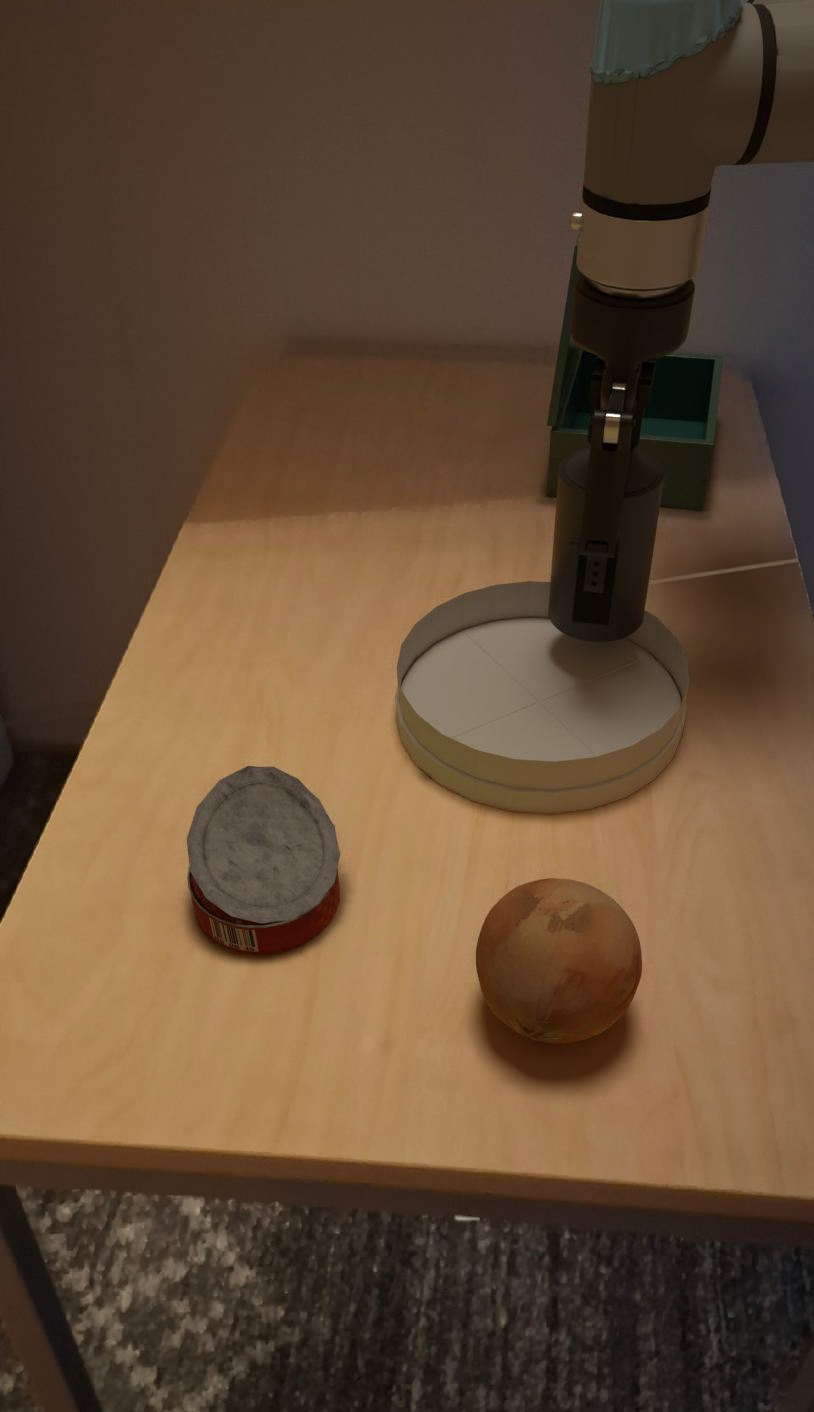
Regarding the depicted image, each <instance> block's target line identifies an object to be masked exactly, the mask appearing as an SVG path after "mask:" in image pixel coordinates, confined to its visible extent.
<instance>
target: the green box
mask: <svg viewBox="0 0 814 1412" xmlns="http://www.w3.org/2000/svg"><path fill="white" fill-rule="evenodd" d="M596 357H599V356H598V355H596V354H594V353H589V352H587V351H585V350H584V349H582V348H581V347H580V346H579V349H578V352H577V355H576V359H575V362H574V365H573V369H572V372H571V376H570V379H569V382H568V386H567V389H566V392H565V396H564V399H563V403H562V406H561V409H560V413H559V416H558V420H557V423H556V426H555V427H554V426H551V429H550V435H549V436H550V437H549V451H548V467H547V479H546V481H547V483H546V494H545V496H546V497H547V498H554V499H555V498H556V499H557V487H558V473H559V466H560V464H561V462H562V461H563V460H564V459H565V458H566V457H567V456H568V455H570V454H571V453H573V452H575V451H578V450H581V449H584V448H588V447H591V444H589V442H588V438H587V437H588V429H589V421H590V414H591V402H590V400H589V391H590V383H591V377H592V373H593V374H594V370H595V362H596ZM646 361H656V362H655V370H654V377H653V383H652V387H651V393H650V399H649V402H648V404H647V406H646V409H645V414H644V416H643V421H642V427H641V434H640V441H639V443H638V445H637V447H636V449H637V450H640V451H643V452H645V453H647V454H649V455H651V456H652V457H654V458H655V459H657V460H658V461H659V462H660V463H661V465H662V467H663V469H664V473H665V476H664V483H663V490H662V497H661V503H660V508H664V509H673V510H674V509H675V510H685V511H694V512H695V511H697V512H703V508H704V503H705V497H706V492H707V485H708V481H709V475H710V468H711V464H712V458H713V454H714V453H713V452H714V447H715V439H716V430H717V419H718V411H719V402H720V393H721V392H720V391H721V383H722V374H723V365H724V355H711V354H695V353H685V352H683V353H681V352H673V353H671V354H669V355H666V356H663V357H660V358H652V359H648V360H646Z"/></svg>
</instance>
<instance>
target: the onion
mask: <svg viewBox="0 0 814 1412" xmlns="http://www.w3.org/2000/svg"><path fill="white" fill-rule="evenodd" d="M475 947H476V948H475V968H476V974H477V978H478V982H479V986H480V990H481V994H482V997H483V999H484V1001H485V1003H486V1005H487V1006H488V1008H489V1009H490V1011H491V1012H492V1013H493V1015H494V1016H495V1017H496V1018H497V1019H498V1020H499V1021H501V1022H502V1023H503V1024H504V1025H506V1026H507V1027H508V1028H510V1029H511V1030H513V1031H514V1032H516V1033H518V1034H520V1035H521V1036H523V1037H525V1038H526V1039H529V1040H531V1041H536V1042H539V1041H540V1042H544V1043H547V1044H568V1043H576V1042H580V1041H584V1040H587V1039H590V1038H592V1037H596V1036H598V1035H600V1034H601V1033H603V1032H605V1031H606V1030H607V1029H609V1028H610V1027H612V1026H613V1025H614V1024H615V1023H616V1022H617V1021H618V1020H619V1019H621V1017H622V1016H623V1015H624V1014H625V1013H626V1011H627V1010H628V1008H629V1006H630V1005H631V1003H632V1001H633V999H634V997H635V995H636V992H637V990H638V987H639V985H640V981H641V980H642V979H641V978H642V973H643V958H642V957H643V956H642V947H641V940H640V937H639V934H638V932H637V929H636V927H635V925H634V923H633V920H632V919H631V918H630V916H629V915H628V913H627V912H626V911H625V909H623V907H622V906H621V905H620V904H619V903H618V902H617V901H616V900H615V899H614V898H613V897H612V896H610V895H608V894H607V893H605V892H604V891H602V890H601V889H599V888H597V887H595V886H593V885H591V884H589V883H585V882H583V881H578V880H574V879H569V878H557V877H556V878H554V877H550V878H540V879H537V880H532V881H528V882H526V883H523V884H520V885H518V886H515V887H514V888H513V889H511V890H509V891H508V892H507V893H506V894H504V895H503V896H502V897H500V898H499V900H498V901H497V902H496V903H495V904H494V905H493V906H492V907H491V909H490V910H489V911H488V913H487V915H486V917H485V918H484V921H483V923H482V926H481V928H480V931H479V933H478V939H477V942H476V946H475Z"/></svg>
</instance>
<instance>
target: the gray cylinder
mask: <svg viewBox="0 0 814 1412" xmlns="http://www.w3.org/2000/svg"><path fill="white" fill-rule="evenodd" d="M590 449H591V447H588V448H584V449H581V450H578V451H575V452H573V453H571V454H570V455H568V456H567V457H566V458H565V459H564V460H563V461H562V462H561V464H560V466H559V473H558V487H557V498H556V500H555V513H554V530H553V541H552V553H551V566H550V568H551V569H550V581H549V582H550V593H549V607H548V615H549V619H550V621H551V623H552V624H553V625H554V626H555V627H556V628H557V629H558V630H559V631H561V632H562V633H564V634H566V635H568V636H570V637H572V638H575V639H579V640H583V641H589V642H609V641H615V640H619V639H622V638H625V637H627V636H629V635H631V634H633V633H634V632H635V631H636V630H637V629H638V628H639V627H640V626H641V624H642V622H643V618H644V611H645V610H646V604H647V597H648V590H649V584H650V577H651V570H652V563H653V556H654V551H655V550H654V549H655V544H656V536H657V530H658V524H659V517H660V509H661V507H660V503H661V497H662V490H663V483H664V476H665V473H664V469H663V467H662V465H661V463H660V462H659V461H658V460H657V459H655V458H654V457H652V456H651V455H649V454H647V453H645V452H643V451H640V450H637V449H633V450H631V451H630V457H629V464H628V471H627V478H626V485H625V492H624V498H623V506H622V513H621V520H620V526H619V533H618V540H619V542H620V544H619V551H618V559H617V566H616V573H615V581H614V588H613V596H612V603H611V611H610V618H609V624H608V626H607V625H599V624H590V623H582V622H574V621H572V615H573V605H574V596H575V586H576V577H577V568H578V558H579V553H578V549H577V548H570V541H571V539H572V537H573V538H580V536H581V527H582V518H583V510H584V501H585V492H586V484H587V475H588V466H589V458H590Z"/></svg>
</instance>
